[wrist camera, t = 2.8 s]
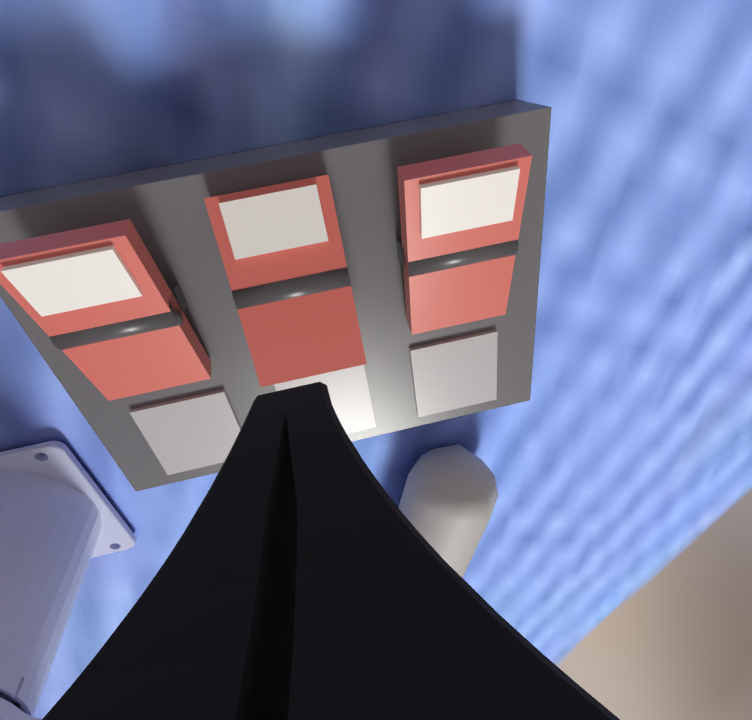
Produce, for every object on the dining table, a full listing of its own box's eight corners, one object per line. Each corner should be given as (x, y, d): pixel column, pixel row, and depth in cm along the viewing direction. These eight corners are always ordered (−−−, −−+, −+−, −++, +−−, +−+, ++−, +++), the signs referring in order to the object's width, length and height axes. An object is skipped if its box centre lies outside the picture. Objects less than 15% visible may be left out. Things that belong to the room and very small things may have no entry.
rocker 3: (405, 318, 17) (413, 338, 17) (396, 165, 13) (405, 184, 12) (496, 298, 18) (507, 318, 17) (518, 141, 13) (535, 158, 12)
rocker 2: (263, 377, 16) (260, 389, 15) (210, 198, 14) (202, 198, 13) (363, 355, 16) (367, 366, 15) (327, 175, 14) (328, 174, 13)
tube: (406, 487, 21) (336, 718, 34) (520, 514, 21) (406, 736, 34) (414, 417, 26) (350, 644, 39) (508, 439, 25) (411, 660, 38)
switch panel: (149, 450, 22) (132, 503, 19) (-8, 197, 15) (-66, 228, 12) (507, 369, 23) (536, 409, 20) (517, 99, 16) (561, 109, 14)
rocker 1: (113, 381, 17) (107, 405, 16) (-7, 243, 12) (-22, 268, 11) (211, 360, 17) (210, 383, 16) (130, 217, 12) (123, 239, 12)
